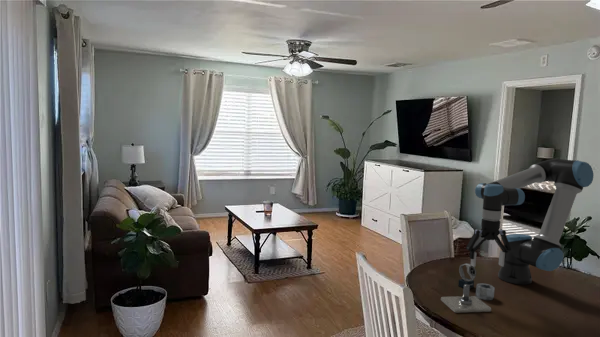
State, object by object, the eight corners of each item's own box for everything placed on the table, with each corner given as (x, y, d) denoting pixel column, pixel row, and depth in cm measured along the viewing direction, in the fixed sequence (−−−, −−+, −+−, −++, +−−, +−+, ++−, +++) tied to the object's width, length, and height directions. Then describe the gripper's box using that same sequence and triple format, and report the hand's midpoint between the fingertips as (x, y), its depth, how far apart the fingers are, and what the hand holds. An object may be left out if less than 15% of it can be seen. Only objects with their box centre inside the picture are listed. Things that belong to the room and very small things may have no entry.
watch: (469, 290, 193) (471, 267, 192) (455, 284, 200) (457, 262, 199) (477, 288, 196) (479, 266, 195) (462, 282, 203) (464, 261, 201)
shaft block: (474, 299, 183) (476, 279, 182) (490, 311, 172) (492, 290, 171) (440, 300, 181) (442, 280, 180) (454, 312, 169) (456, 291, 168)
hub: (487, 293, 190) (488, 283, 190) (496, 300, 183) (497, 289, 183) (473, 294, 189) (474, 283, 189) (481, 300, 182) (482, 289, 182)
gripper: (511, 217, 188) (507, 262, 190) (460, 217, 184) (456, 263, 187) (522, 221, 181) (518, 268, 183) (469, 221, 177) (465, 269, 179)
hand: (487, 265), depth 185 cm, fingers open, 13 cm apart
